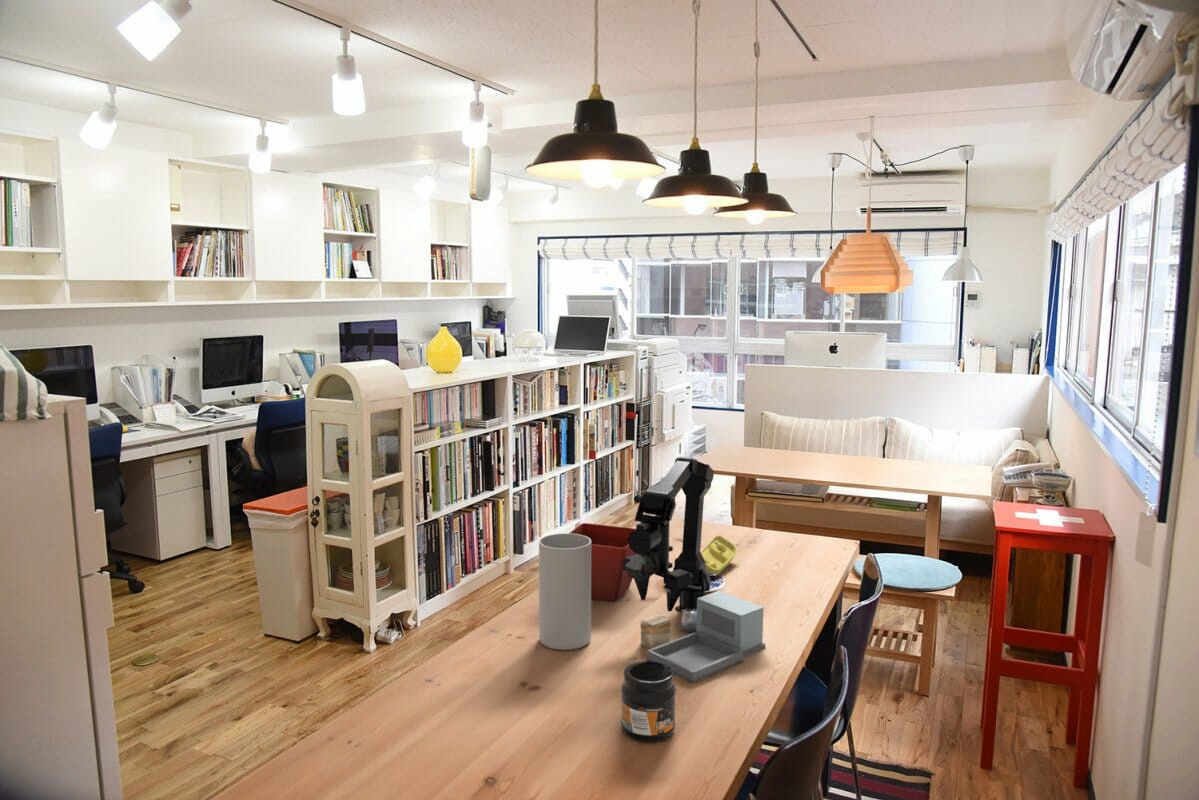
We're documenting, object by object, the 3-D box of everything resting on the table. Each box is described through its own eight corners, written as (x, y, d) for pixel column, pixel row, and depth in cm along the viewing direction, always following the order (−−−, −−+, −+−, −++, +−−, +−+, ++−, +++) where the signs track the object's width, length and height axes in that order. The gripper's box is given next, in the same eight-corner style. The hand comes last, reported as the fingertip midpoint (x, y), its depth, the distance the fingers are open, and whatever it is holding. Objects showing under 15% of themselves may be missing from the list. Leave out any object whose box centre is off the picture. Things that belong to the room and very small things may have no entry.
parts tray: (646, 660, 193) (646, 650, 192) (696, 641, 203) (696, 631, 203) (692, 683, 182) (693, 672, 181) (743, 662, 192) (743, 651, 192)
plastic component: (716, 571, 246) (688, 552, 250) (707, 591, 249) (679, 571, 253) (742, 549, 263) (715, 531, 267) (732, 567, 266) (706, 549, 270)
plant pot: (644, 585, 242) (645, 528, 239) (624, 609, 224) (625, 548, 221) (582, 577, 248) (582, 522, 245) (558, 600, 230) (558, 540, 228)
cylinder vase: (599, 635, 206) (599, 537, 203) (576, 655, 195) (576, 551, 192) (554, 626, 212) (554, 530, 208) (529, 645, 200) (529, 544, 197)
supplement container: (635, 749, 156) (636, 688, 154) (612, 722, 165) (612, 665, 164) (685, 737, 160) (686, 678, 158) (659, 712, 169) (660, 655, 168)
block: (640, 643, 202) (640, 620, 201) (658, 637, 206) (659, 613, 205) (652, 649, 199) (652, 625, 198) (670, 642, 203) (670, 619, 202)
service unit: (693, 637, 206) (694, 598, 204) (718, 627, 211) (718, 589, 210) (740, 657, 194) (741, 616, 193) (765, 647, 200) (766, 607, 199)
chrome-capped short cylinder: (677, 629, 210) (677, 610, 210) (689, 625, 213) (690, 606, 212) (690, 635, 207) (690, 616, 206) (702, 630, 210) (702, 611, 209)
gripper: (605, 540, 201) (605, 602, 203) (660, 559, 187) (659, 626, 189) (640, 531, 208) (639, 591, 210) (694, 549, 194) (693, 613, 196)
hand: (656, 605), depth 201 cm, fingers open, 9 cm apart
